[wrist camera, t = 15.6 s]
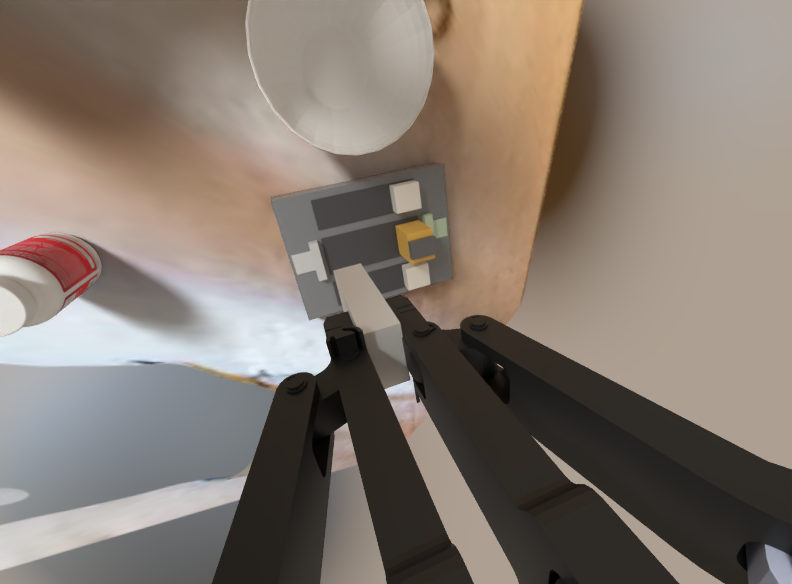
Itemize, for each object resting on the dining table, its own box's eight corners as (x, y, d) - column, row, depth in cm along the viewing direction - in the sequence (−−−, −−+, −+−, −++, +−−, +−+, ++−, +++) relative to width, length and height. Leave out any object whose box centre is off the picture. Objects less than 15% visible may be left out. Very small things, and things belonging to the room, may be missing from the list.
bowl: (424, 124, 39) (451, 122, 33) (296, 174, 37) (300, 181, 31) (380, -56, 32) (405, -102, 25) (215, -7, 29) (200, -44, 23)
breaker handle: (399, 253, 42) (413, 266, 38) (395, 225, 40) (409, 236, 36) (421, 247, 42) (438, 260, 38) (418, 219, 41) (435, 229, 37)
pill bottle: (24, 223, 32) (-85, 261, 22) (105, 239, 34) (39, 279, 25) (25, 283, 34) (-74, 341, 24) (102, 293, 36) (39, 350, 26)
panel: (307, 311, 44) (310, 326, 41) (270, 197, 37) (270, 203, 34) (445, 272, 48) (458, 282, 45) (435, 162, 41) (450, 165, 38)
